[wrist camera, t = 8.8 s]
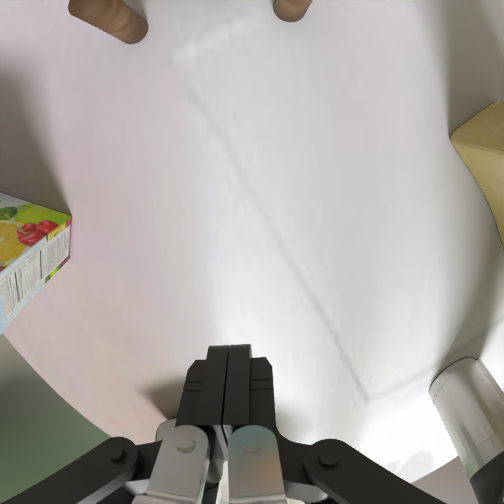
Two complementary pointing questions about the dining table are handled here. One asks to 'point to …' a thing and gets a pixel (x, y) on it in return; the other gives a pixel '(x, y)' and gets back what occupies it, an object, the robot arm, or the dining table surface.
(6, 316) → the snack box
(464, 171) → the dining table surface
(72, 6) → the left post
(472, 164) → the cheese
